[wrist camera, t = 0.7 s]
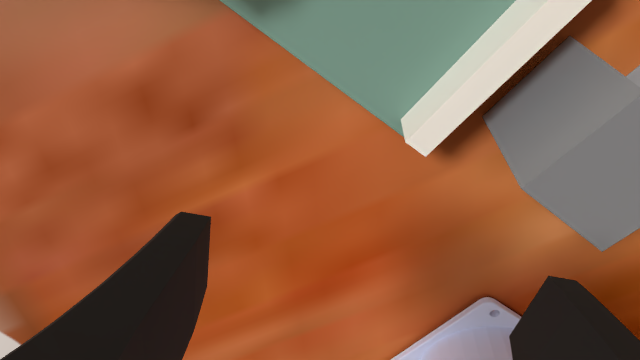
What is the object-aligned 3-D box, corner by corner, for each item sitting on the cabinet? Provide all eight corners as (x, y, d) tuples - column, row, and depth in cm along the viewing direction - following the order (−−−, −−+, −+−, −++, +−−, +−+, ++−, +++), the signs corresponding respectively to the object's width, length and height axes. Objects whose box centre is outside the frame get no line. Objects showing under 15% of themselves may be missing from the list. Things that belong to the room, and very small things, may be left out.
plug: (648, 91, 17) (744, 160, 13) (548, 169, 19) (601, 252, 15) (581, 23, 16) (664, 77, 12) (481, 115, 18) (521, 188, 14)
